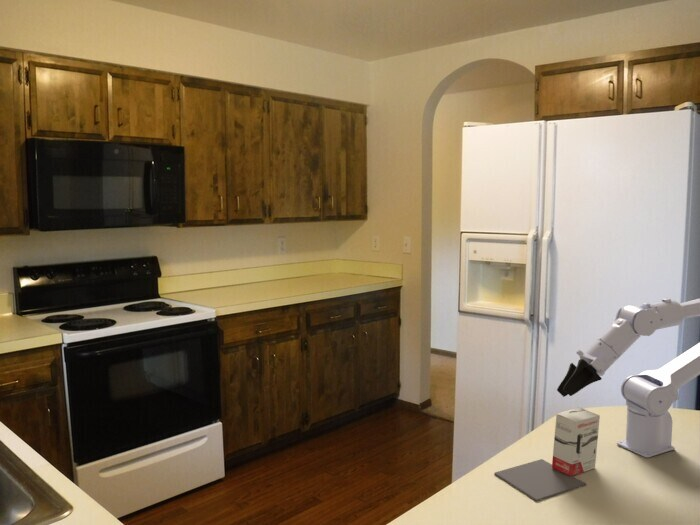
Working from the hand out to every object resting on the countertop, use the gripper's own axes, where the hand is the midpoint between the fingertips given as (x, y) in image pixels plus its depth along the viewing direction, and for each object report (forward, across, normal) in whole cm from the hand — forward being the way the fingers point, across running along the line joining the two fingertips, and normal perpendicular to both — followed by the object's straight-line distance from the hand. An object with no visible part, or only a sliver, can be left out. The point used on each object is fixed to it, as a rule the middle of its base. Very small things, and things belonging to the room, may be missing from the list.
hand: (563, 393), depth 127 cm
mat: (+17, +6, +8) cm, 19 cm away
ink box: (+10, 0, +12) cm, 16 cm away
